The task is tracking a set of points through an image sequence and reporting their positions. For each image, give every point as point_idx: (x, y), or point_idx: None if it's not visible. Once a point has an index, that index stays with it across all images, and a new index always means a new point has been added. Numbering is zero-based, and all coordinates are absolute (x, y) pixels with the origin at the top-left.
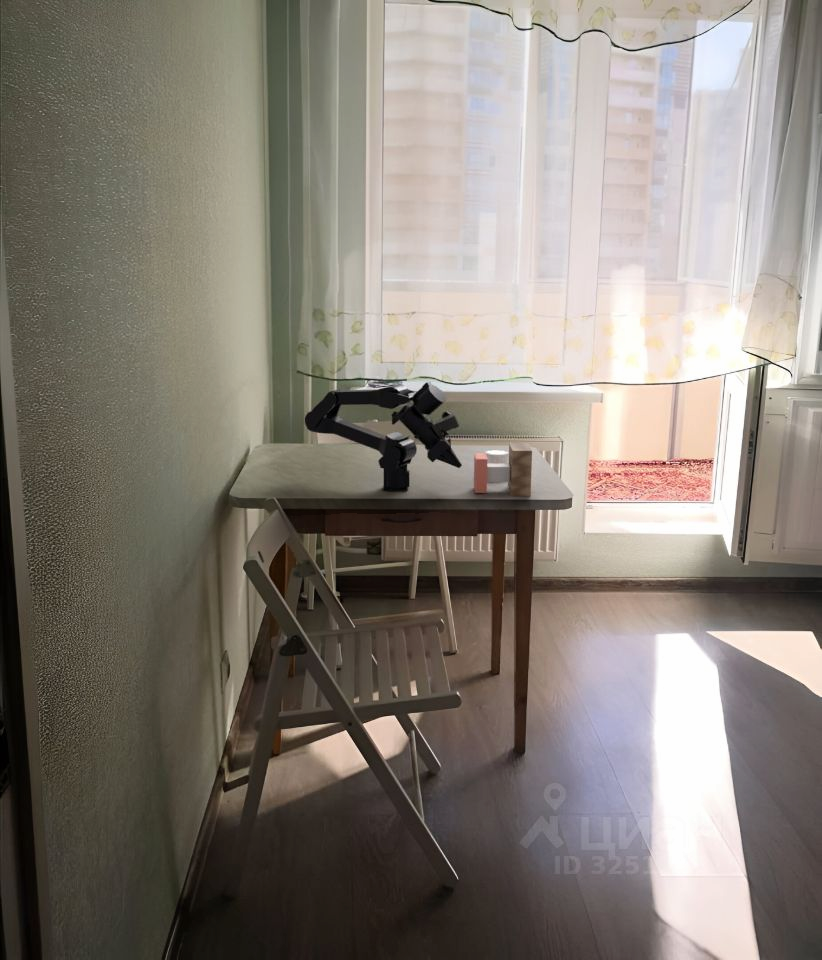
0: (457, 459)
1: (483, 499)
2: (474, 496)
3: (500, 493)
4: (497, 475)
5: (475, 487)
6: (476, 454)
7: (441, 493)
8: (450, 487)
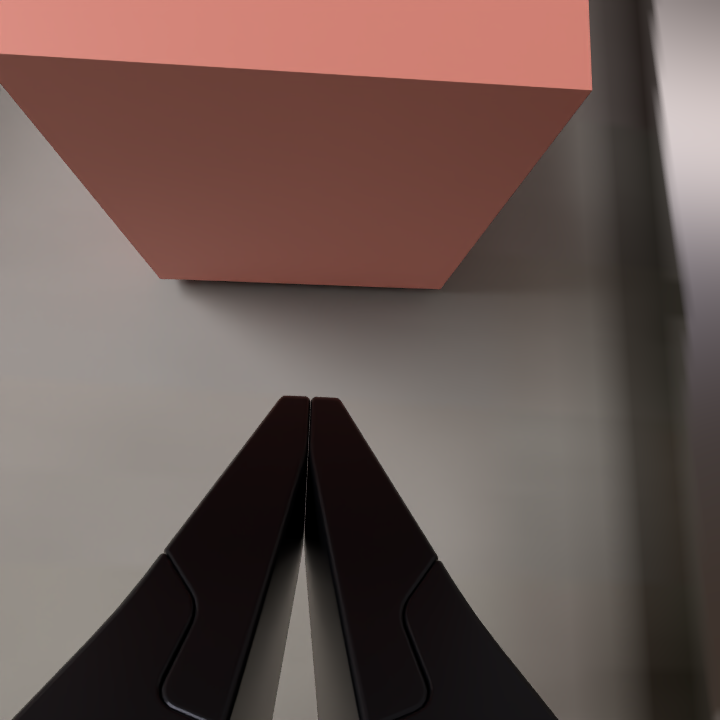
0: (392, 487)
1: (620, 233)
2: (516, 307)
3: None
4: None
5: (453, 271)
6: (102, 21)
7: None
8: (139, 537)
